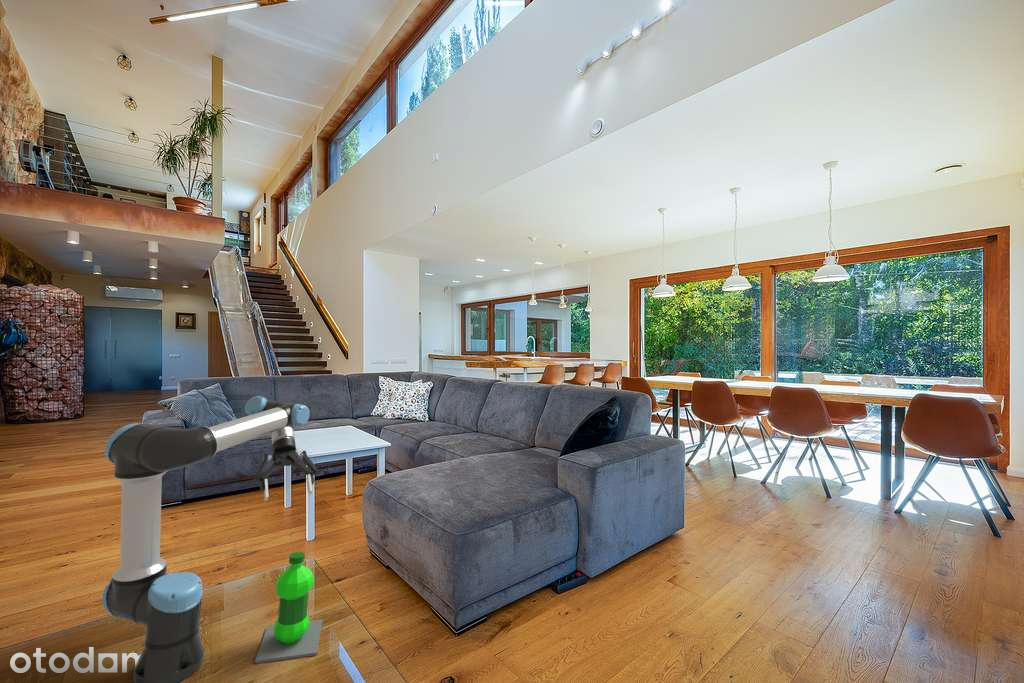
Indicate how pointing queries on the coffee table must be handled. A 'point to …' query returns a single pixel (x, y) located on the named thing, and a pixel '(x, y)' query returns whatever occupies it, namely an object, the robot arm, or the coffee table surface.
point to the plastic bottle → (293, 600)
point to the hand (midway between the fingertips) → (289, 495)
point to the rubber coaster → (280, 651)
